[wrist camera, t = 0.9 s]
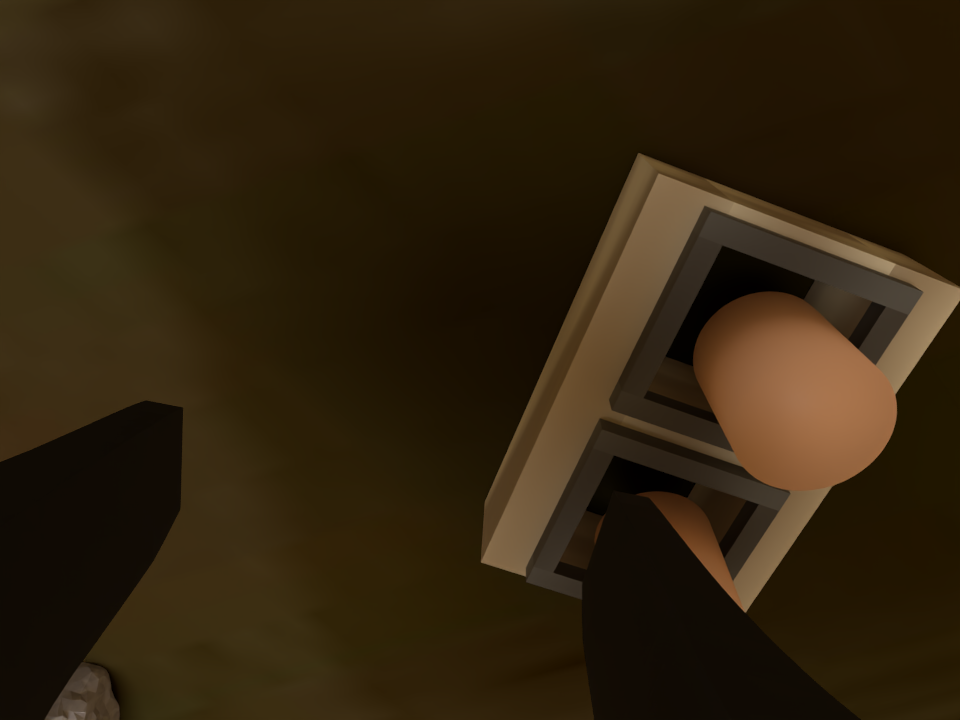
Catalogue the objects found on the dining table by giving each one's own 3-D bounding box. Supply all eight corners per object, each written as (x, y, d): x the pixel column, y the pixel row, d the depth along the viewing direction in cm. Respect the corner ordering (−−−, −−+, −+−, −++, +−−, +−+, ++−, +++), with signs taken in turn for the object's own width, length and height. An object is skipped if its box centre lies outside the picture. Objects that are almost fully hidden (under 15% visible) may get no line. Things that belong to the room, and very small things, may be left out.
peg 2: (855, 318, 17) (929, 382, 14) (786, 428, 18) (840, 509, 15) (732, 272, 17) (780, 327, 14) (670, 388, 18) (702, 462, 15)
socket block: (904, 255, 20) (981, 299, 17) (703, 572, 25) (732, 655, 22) (638, 153, 19) (663, 178, 16) (484, 501, 24) (480, 575, 21)
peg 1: (733, 513, 19) (774, 604, 16) (679, 598, 21) (708, 697, 18) (623, 476, 19) (644, 562, 16) (576, 564, 20) (586, 661, 17)
